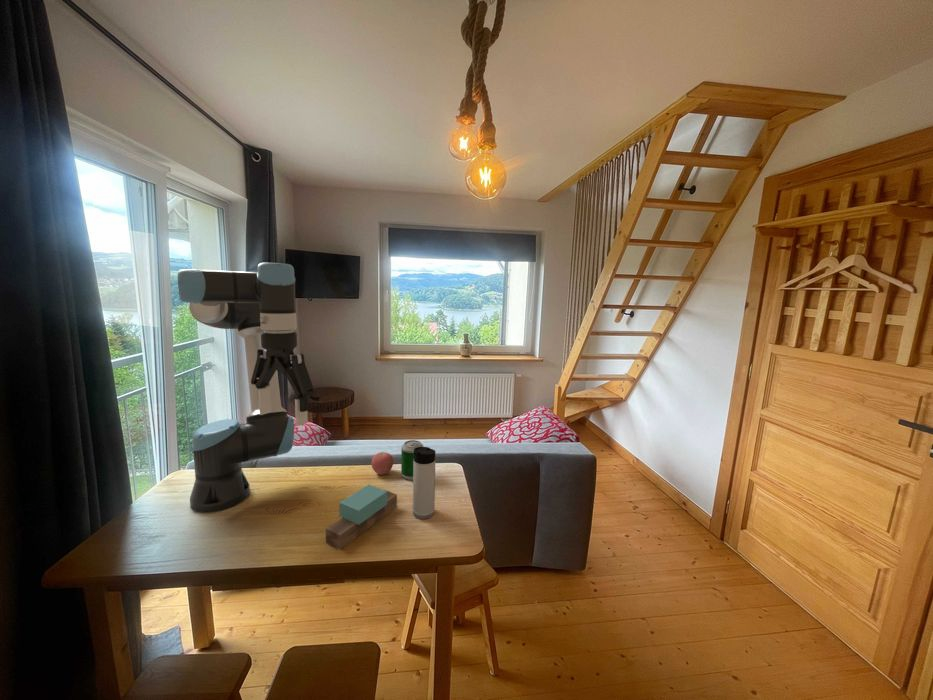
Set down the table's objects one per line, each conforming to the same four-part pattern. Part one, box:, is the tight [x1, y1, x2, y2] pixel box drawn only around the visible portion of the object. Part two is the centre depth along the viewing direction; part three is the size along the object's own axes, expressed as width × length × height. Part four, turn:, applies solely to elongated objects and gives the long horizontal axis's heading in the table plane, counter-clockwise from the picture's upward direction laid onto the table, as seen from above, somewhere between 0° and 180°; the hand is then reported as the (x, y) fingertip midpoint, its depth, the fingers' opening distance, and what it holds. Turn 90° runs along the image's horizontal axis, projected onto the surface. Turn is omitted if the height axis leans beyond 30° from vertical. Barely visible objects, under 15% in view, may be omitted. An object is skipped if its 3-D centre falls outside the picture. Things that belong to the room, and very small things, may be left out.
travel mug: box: [412, 446, 436, 520], centre depth 108 cm, size 6×7×20 cm
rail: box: [325, 489, 398, 551], centre depth 104 cm, size 5×22×4 cm, turn 151°
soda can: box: [400, 439, 425, 481], centre depth 130 cm, size 8×8×12 cm
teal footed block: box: [338, 484, 388, 525], centre depth 103 cm, size 7×11×8 cm, turn 151°
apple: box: [371, 451, 395, 476], centre depth 132 cm, size 7×7×8 cm
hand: (283, 418), depth 91 cm, fingers open, 13 cm apart
